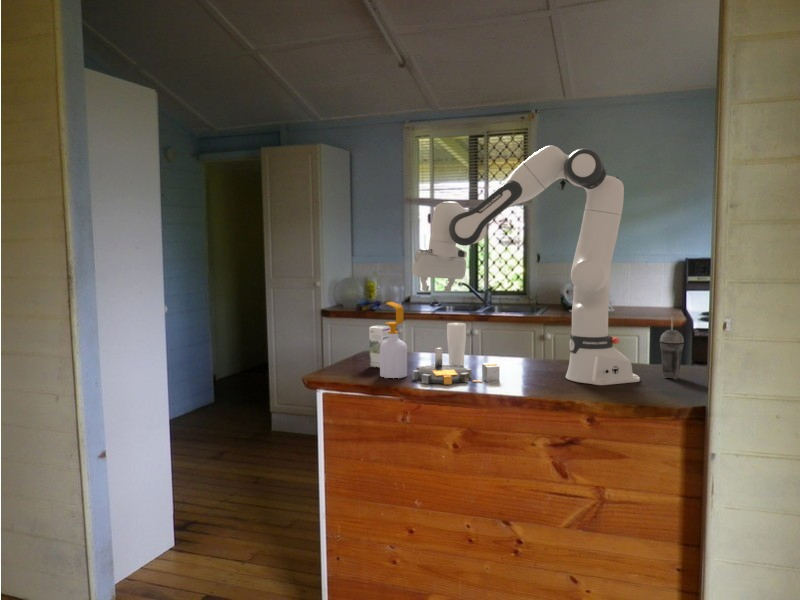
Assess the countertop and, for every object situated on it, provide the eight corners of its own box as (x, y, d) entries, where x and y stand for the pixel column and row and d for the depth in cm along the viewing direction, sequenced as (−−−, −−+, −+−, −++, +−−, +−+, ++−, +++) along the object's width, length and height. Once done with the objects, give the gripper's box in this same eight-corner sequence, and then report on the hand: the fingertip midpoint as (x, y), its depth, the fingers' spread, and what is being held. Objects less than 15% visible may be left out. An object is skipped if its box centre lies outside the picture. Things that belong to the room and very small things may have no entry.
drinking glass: (466, 363, 223) (465, 322, 222) (466, 367, 216) (466, 325, 215) (447, 363, 224) (447, 322, 222) (446, 367, 217) (446, 325, 215)
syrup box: (391, 365, 221) (391, 325, 219) (382, 368, 216) (381, 327, 214) (378, 364, 224) (377, 324, 222) (369, 367, 219) (368, 326, 217)
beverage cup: (658, 379, 195) (660, 316, 193) (657, 374, 201) (659, 314, 199) (684, 381, 192) (686, 317, 190) (682, 376, 199) (684, 314, 197)
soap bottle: (389, 372, 210) (388, 300, 208) (412, 374, 206) (411, 301, 203) (374, 377, 203) (373, 303, 200) (398, 380, 198) (397, 304, 196)
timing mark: (472, 381, 195) (472, 380, 195) (473, 381, 196) (473, 380, 196) (481, 382, 193) (481, 381, 193) (482, 381, 194) (482, 380, 194)
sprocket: (464, 370, 209) (464, 345, 209) (477, 383, 191) (477, 356, 190) (409, 372, 207) (409, 347, 206) (417, 385, 189) (417, 358, 188)
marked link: (494, 377, 200) (494, 362, 200) (499, 382, 194) (499, 366, 194) (482, 378, 200) (482, 362, 199) (487, 382, 194) (487, 366, 193)
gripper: (422, 249, 197) (416, 291, 199) (470, 253, 209) (465, 293, 210) (410, 247, 202) (405, 288, 204) (459, 251, 214) (453, 290, 216)
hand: (436, 291), depth 207 cm, fingers open, 8 cm apart
